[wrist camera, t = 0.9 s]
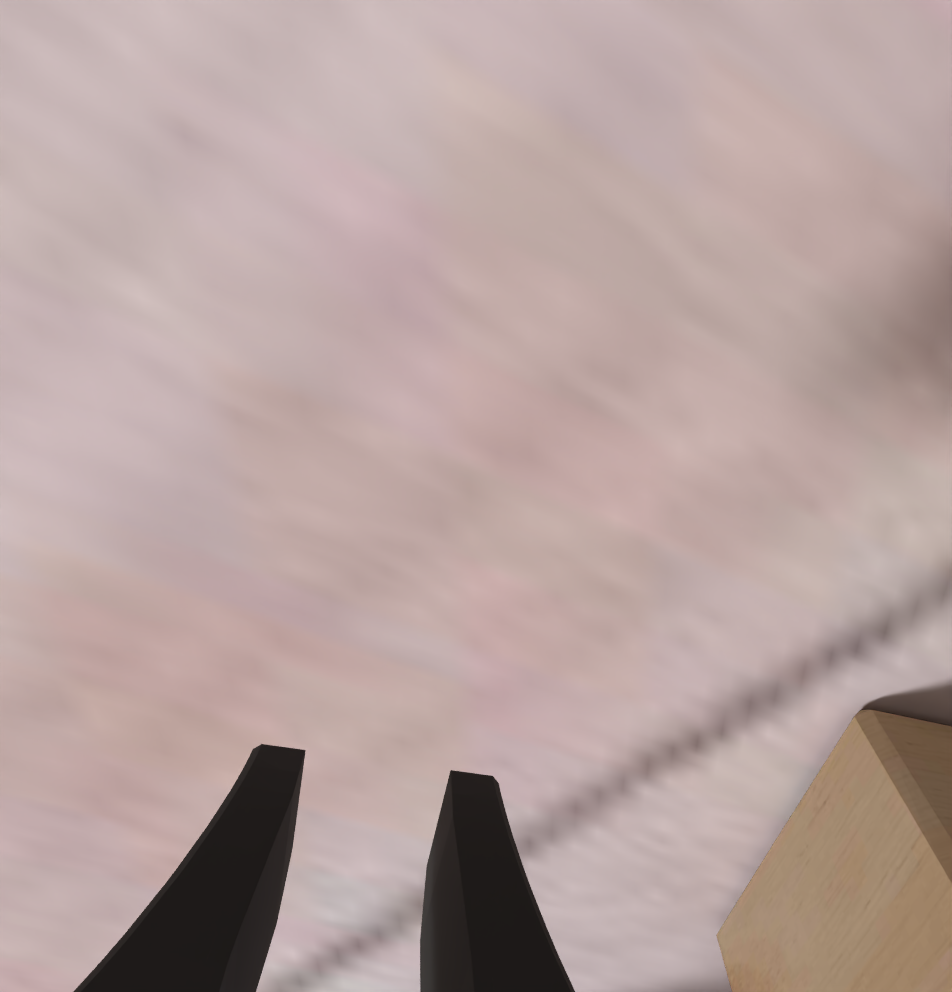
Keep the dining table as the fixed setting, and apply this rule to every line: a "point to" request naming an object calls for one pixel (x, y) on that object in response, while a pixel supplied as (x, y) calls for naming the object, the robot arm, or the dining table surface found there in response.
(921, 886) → the decorative block
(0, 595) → the dining table surface
